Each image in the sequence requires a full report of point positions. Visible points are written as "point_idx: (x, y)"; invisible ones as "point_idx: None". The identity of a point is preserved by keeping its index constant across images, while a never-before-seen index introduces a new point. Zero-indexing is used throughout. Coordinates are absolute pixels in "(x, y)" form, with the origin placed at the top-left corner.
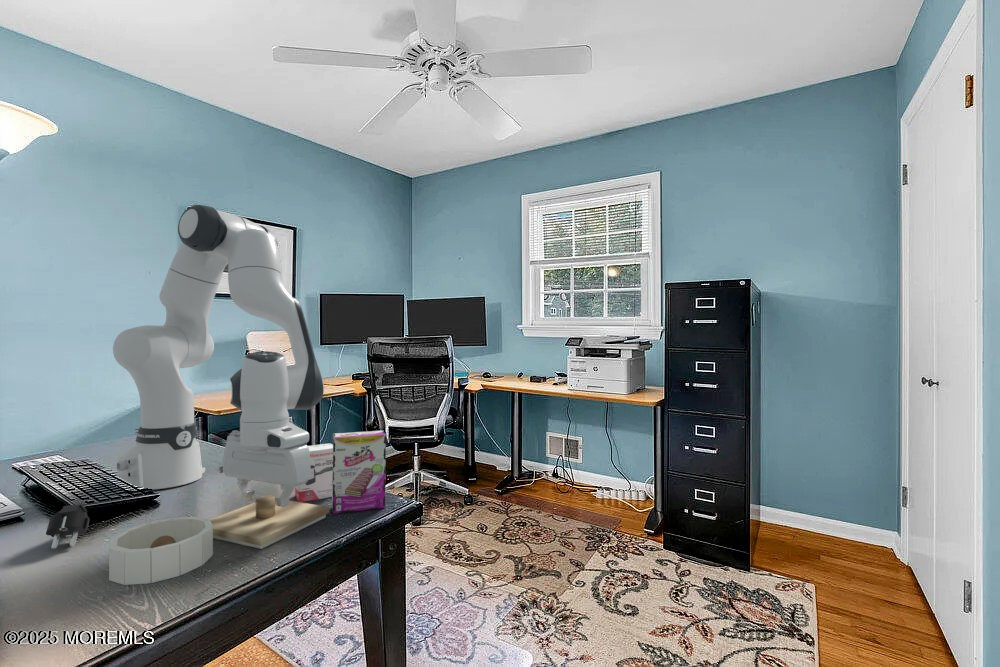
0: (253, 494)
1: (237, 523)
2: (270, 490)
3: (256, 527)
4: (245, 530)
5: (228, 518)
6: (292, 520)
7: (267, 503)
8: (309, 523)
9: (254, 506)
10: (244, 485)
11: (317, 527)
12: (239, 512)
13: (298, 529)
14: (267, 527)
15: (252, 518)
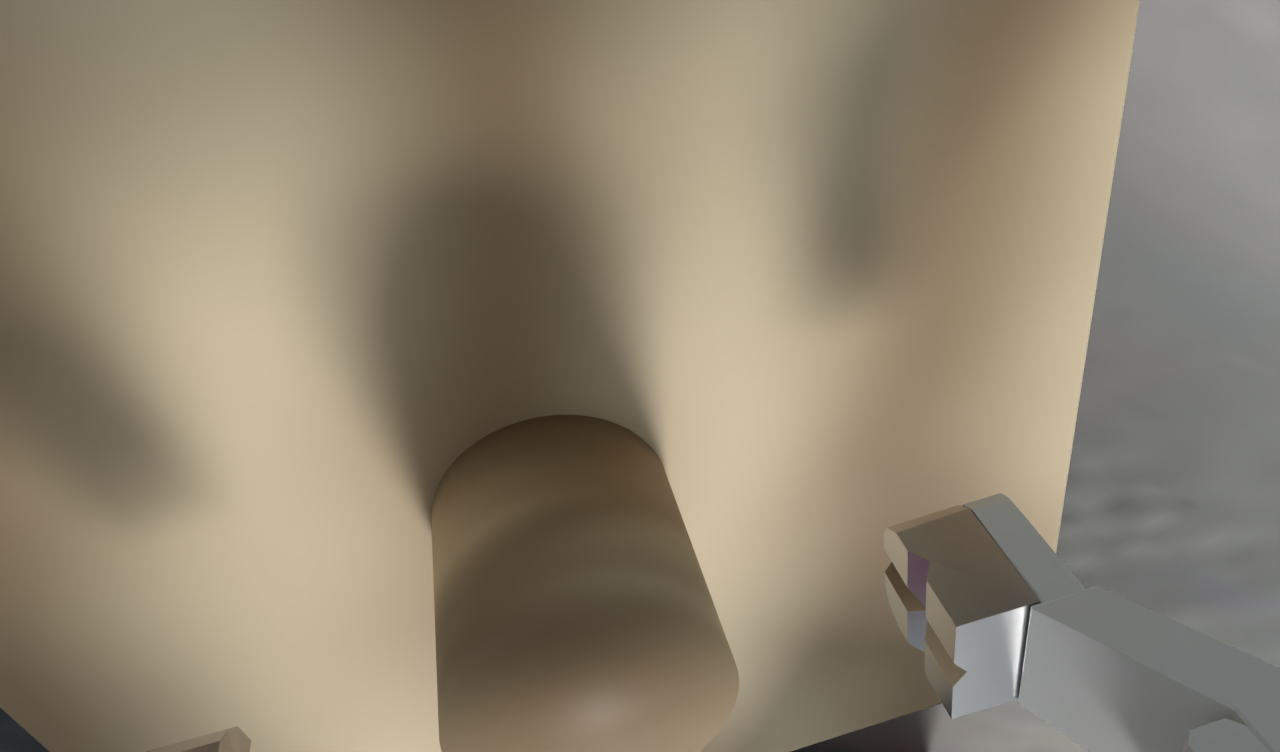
0: (927, 648)
1: (590, 169)
2: None
3: (149, 282)
4: (123, 110)
5: (905, 173)
6: (77, 653)
7: (443, 668)
8: None
9: None
10: (1144, 711)
11: None
12: (957, 354)
13: None
14: (19, 384)
15: (600, 379)
